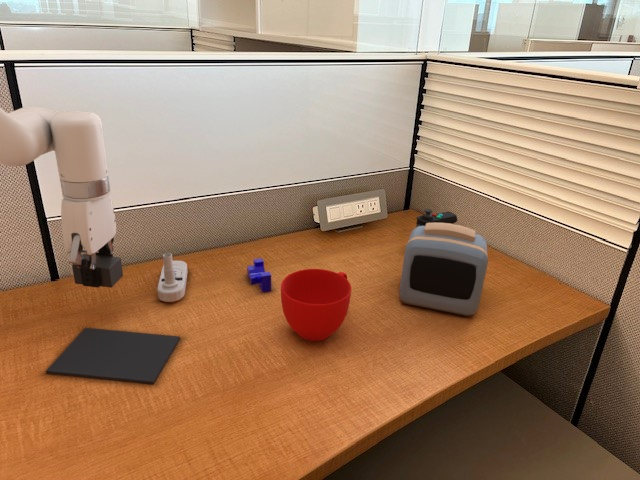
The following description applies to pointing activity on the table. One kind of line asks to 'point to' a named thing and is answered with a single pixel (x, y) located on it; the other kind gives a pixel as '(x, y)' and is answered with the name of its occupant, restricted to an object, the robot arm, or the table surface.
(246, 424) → the table surface
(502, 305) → the table surface
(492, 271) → the table surface
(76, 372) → the desk mat
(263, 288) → the cable holder
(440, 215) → the controller
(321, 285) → the ceramic cup
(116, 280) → the block
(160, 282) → the electronic device
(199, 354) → the table surface
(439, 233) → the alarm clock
